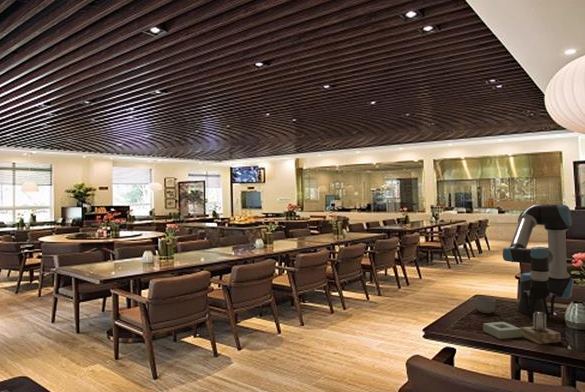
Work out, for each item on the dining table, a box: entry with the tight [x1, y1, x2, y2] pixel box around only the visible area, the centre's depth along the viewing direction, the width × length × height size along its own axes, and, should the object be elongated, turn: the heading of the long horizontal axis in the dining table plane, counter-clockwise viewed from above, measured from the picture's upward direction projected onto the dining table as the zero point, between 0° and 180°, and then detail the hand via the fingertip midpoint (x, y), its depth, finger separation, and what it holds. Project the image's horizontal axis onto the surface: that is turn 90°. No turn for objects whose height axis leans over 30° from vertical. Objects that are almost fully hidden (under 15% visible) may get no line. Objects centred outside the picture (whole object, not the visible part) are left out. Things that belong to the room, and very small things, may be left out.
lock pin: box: [535, 312, 546, 333], centre depth 202 cm, size 4×4×12 cm
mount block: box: [519, 325, 562, 345], centre depth 202 cm, size 12×12×4 cm
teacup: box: [469, 296, 496, 314], centre depth 249 cm, size 14×11×8 cm
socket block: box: [482, 321, 522, 340], centre depth 208 cm, size 12×12×4 cm
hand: (539, 327), depth 202 cm, fingers closed on lock pin, 4 cm apart
